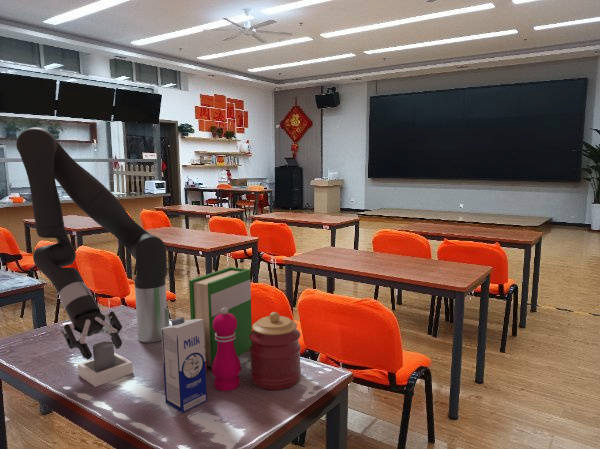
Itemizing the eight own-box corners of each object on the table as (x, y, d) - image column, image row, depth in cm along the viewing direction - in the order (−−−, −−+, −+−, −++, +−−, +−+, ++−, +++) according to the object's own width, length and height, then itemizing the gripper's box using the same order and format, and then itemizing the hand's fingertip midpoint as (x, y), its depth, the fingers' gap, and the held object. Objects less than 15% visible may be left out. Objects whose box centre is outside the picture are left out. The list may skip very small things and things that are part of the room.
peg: (109, 368, 123) (106, 340, 122) (119, 373, 120) (117, 344, 119) (91, 375, 119) (88, 346, 118) (101, 380, 116) (99, 350, 115)
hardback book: (214, 371, 121) (210, 283, 118) (193, 365, 124) (188, 280, 121) (252, 347, 136) (250, 269, 133) (232, 343, 140) (230, 266, 136)
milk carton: (181, 413, 100) (177, 326, 98) (164, 403, 105) (159, 320, 102) (207, 400, 106) (204, 318, 103) (190, 391, 110) (186, 312, 107)
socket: (114, 362, 127) (114, 352, 127) (132, 372, 120) (132, 362, 120) (78, 374, 120) (77, 364, 119) (95, 386, 113) (94, 375, 113)
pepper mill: (236, 393, 109) (233, 313, 106) (207, 390, 110) (204, 311, 108) (245, 379, 116) (243, 303, 113) (218, 377, 117) (215, 302, 115)
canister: (311, 377, 117) (310, 311, 114) (276, 397, 107) (274, 325, 105) (275, 363, 125) (274, 301, 123) (239, 380, 115) (237, 313, 113)
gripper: (56, 301, 117) (82, 354, 111) (107, 288, 128) (134, 336, 123) (48, 317, 120) (73, 369, 115) (99, 303, 132) (124, 350, 127)
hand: (105, 352), depth 119 cm, fingers open, 8 cm apart
